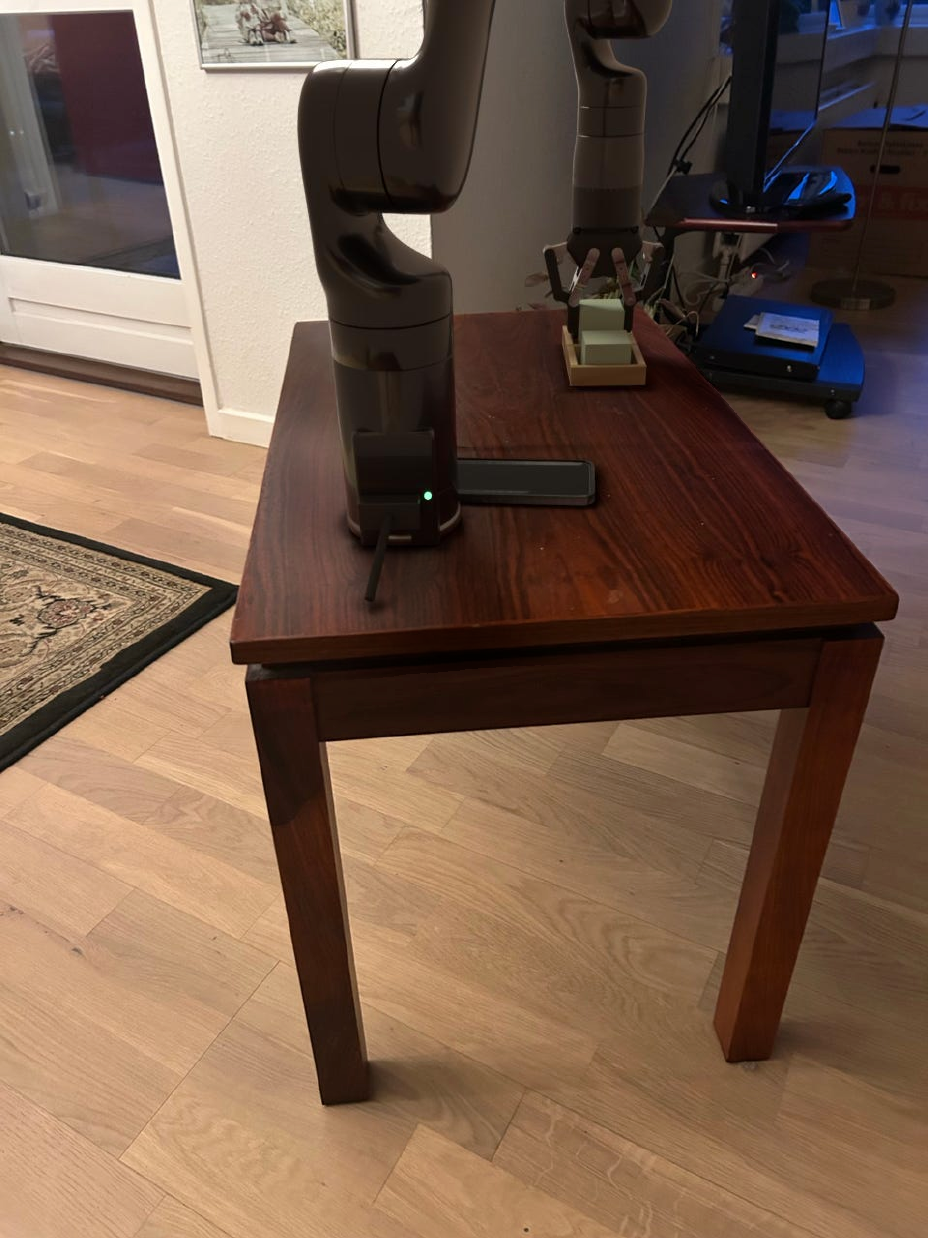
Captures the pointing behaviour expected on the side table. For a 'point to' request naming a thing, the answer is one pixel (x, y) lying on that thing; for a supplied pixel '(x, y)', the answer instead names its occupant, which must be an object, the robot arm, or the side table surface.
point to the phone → (526, 481)
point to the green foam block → (605, 347)
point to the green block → (600, 315)
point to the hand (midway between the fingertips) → (599, 335)
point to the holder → (602, 366)
